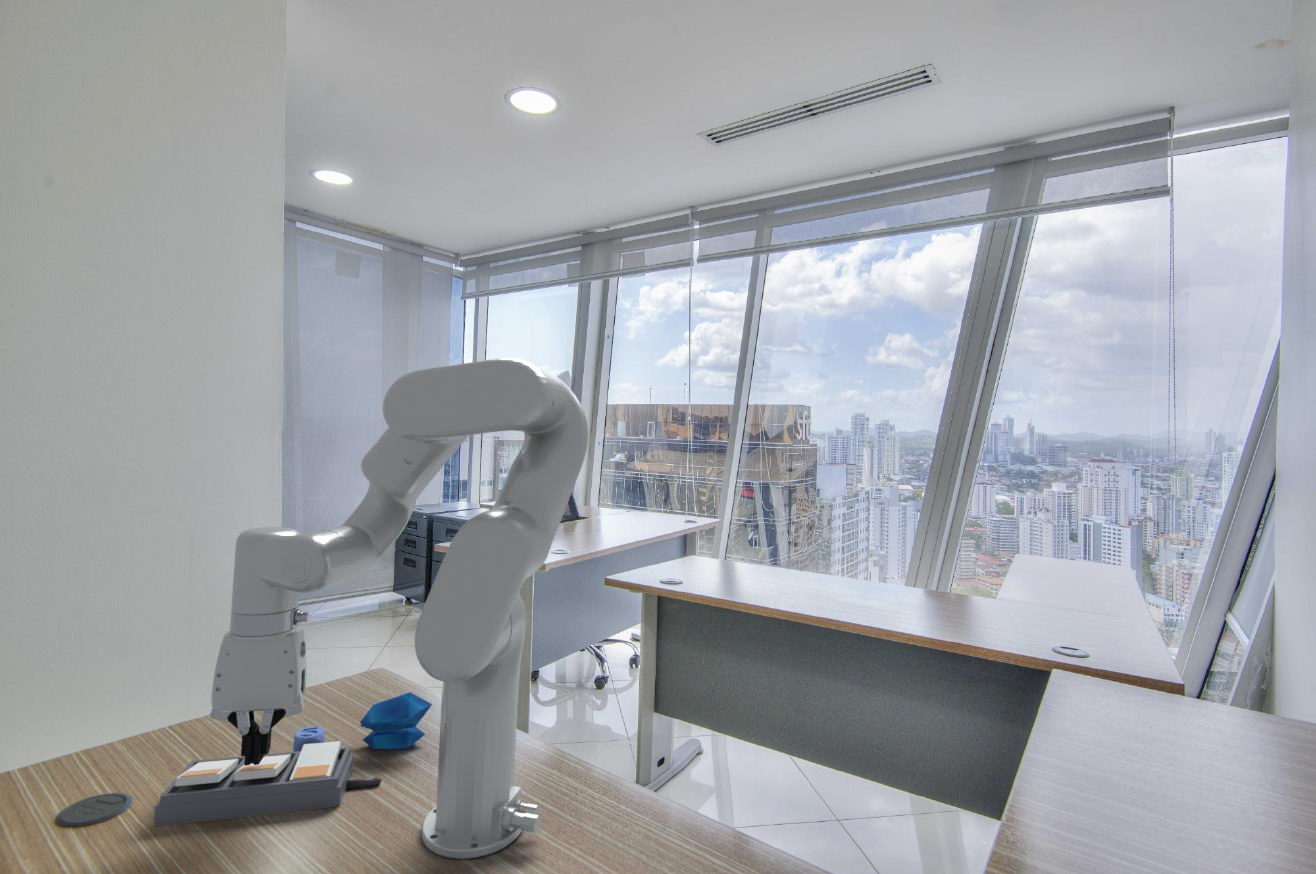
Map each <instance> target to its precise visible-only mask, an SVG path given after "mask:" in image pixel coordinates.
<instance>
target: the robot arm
mask: <svg viewBox="0 0 1316 874" xmlns="http://www.w3.org/2000/svg"><path fill="white" fill-rule="evenodd" d="M382 414H383V418H384V420H385V423H386V424H387V427H388V428H387V429H386V430H385V431H384V432H383V434H382V435H381V436H380V437H379V439H378V440H376V442H375V443H374V444H373V445H372V447H371V448H370V449H369V450H368V451H367V452H366V453H365V455H364V456H363V457H362V460H361V463H360V469H361V471H362V473H363V475H364V477H365V479H366V481H368V482H369V483H368V489H367V492H366V493H365V495H364V498H363V499H362V501H361V502H360V503H359V505H358V506H357V507H356V508H355V510H354V511H353V512H352V513H351V514H350V515H349V517H348V518H347V519H346V520H345V521H344V522H343V523H342V525H340V526H337V527H332V528H327V529H323V530H319V531H314V532H309V533H302V534H301V533H300V532H299V531H298V530H297V529H295V528H291V527H283V526H282V527H281V526H264V527H256V528H255V527H254V528H250V529H246V530H243V531H242V532H241V533H240V534H239V535H238V536H237V538H236V542H235V547H234V548H235V549H234V551H235V552H234V564H233V565H234V566H233V579H232V580H233V582H232V594H231V612H230V625H229V627H230V628H229V630H227V631H226V632H225V634H224V635H223V638H222V640H221V643H220V644H221V645H220V648H219V652H218V656H217V660H216V665H215V668H214V675H213V680H212V688H211V697H210V699H211V702H210V703H211V710H210V715H209V717H210V718H211V719H212V720H219V721H223V722H224V721H226V722H227V721H228V723H230V724H231V725H232V726H234V728H236V729H237V732H238V734H239V735H240V736H241V747H240V756H245V761H244V765H245V766H247V765H250V764H254V765H259V763H260V762H261V760H262V759H263V757H264V756H265V754H270V750H271V745H272V743H271V742H272V730H273V728H274V726H276V725H277V724H278V723H279V722H280V721H282V720H283V719H285V718H286V717H287V718H288V717H292V716H295V715H299V714H301V713H302V712H303V710H304V709H305V701H304V696H303V694H305V692H306V689H307V677H308V672H307V668H308V667H307V663H308V662H307V646H306V635H305V629H304V627H303V626H301V625H299V624H302V623H308V622H309V620H310V612H309V611H303V610H301V609H300V605H299V596H300V595H299V594H300V593H305V594H311V593H317V592H319V591H323V590H326V589H329V588H331V587H334V586H336V585H338V584H341V583H344V582H346V581H349V580H352V579H355V578H358V577H360V576H362V575H363V574H365V573H366V572H368V571H369V570H370V569H372V567H374V566H375V565H376V564H377V563H378V562H379V561H380V559H381V558H382V557H384V555H385V553H387V551H388V550H389V549H390V548H391V546H392V545H393V544H394V543H395V541H397V539H398V538H399V537H400V535H401V534H402V533H403V531H404V530H405V528H406V526H407V525H408V523H409V521H410V518H411V516H412V514H413V511H414V509H415V507H416V504H417V500H418V498H419V496H420V495H421V494H422V492H423V491H424V490H425V489H426V487H428V485H429V484H430V483H431V481H432V480H433V479H434V478H435V476H436V475H437V474H438V473H439V472H440V470H442V469H443V467H444V466H445V465H446V463H447V462H448V461H449V460H450V459H451V457H453V456H454V454H455V453H456V452H457V451H458V449H459V448H460V447H461V446H462V445H463V443H464V442H465V441H466V440H467V438H469V437H470V436H475V435H481V434H482V435H483V434H489V433H498V432H506V431H507V432H508V431H512V432H513V431H515V432H523V433H524V437H523V443H522V446H521V447H520V450H519V451H518V454H517V455H516V456H515V458H514V460H513V461H512V464H511V466H510V468H509V470H508V473H507V475H506V478H505V482H504V483H503V486H502V488H501V490H500V492H499V494H498V497H497V498H496V501H495V503H494V504H493V506H492V508H491V509H488V510H486V511H483V512H479V513H478V514H476V515H474V516H473V517H471V518H469V520H466V522H464V524H463V525H461V527H460V528H459V529H458V530H457V532H456V534H455V535H454V537H453V538H452V540H451V542H450V544H449V546H448V548H447V550H446V552H445V554H444V557H443V559H442V561H441V564H440V567H439V569H438V571H437V574H436V576H435V578H434V581H433V583H432V586H431V587H430V588H431V589H430V590H429V593H428V595H427V598H426V600H425V602H424V605H423V607H422V609H421V612H420V615H419V618H418V621H417V624H416V627H415V632H414V650H415V651H414V652H415V655H416V658H417V660H418V663H419V665H420V666H421V668H422V669H423V670H424V671H425V672H426V673H427V674H428V675H429V676H430V677H431V678H433V679H435V680H438V681H440V682H442V691H441V707H440V722H439V723H440V727H439V745H438V746H439V748H438V766H437V767H438V769H437V784H436V785H437V786H436V787H437V789H436V806H435V807H433V808H432V809H431V810H430V811H429V812H428V814H427V815H426V816H425V818H424V820H423V822H422V826H421V827H422V828H421V838H422V842H423V843H424V845H425V847H427V849H429V850H430V851H431V852H433V853H435V854H436V855H439V856H442V857H445V858H451V859H473V858H480V857H484V856H488V855H491V854H493V853H496V852H498V851H500V850H502V849H505V848H506V847H507V846H509V845H510V844H511V843H512V842H514V841H515V839H517V838H518V837H519V836H520V834H521V833H522V831H524V832H529V833H534V834H537V833H538V831H539V828H540V826H541V821H542V820H541V815H540V814H539V811H540V805H539V804H537V803H532V802H530V803H528V802H524V800H523V799H521V798H522V797H521V796H522V795H521V794H522V787H521V786H516V785H515V770H516V769H515V768H516V765H515V764H516V748H517V746H516V744H517V743H516V742H517V726H518V725H517V724H518V706H519V691H520V690H519V688H520V673H521V665H522V664H521V662H522V657H523V656H522V655H523V649H524V642H525V635H526V629H527V627H526V626H527V625H526V624H527V613H526V612H527V611H526V607H525V603H524V599H523V598H522V596H521V594H520V591H521V589H522V587H523V584H524V582H525V580H527V579H528V578H530V577H531V576H533V575H534V574H535V573H536V572H537V571H538V570H539V569H541V567H543V565H544V563H545V561H546V560H547V557H548V555H549V553H550V550H551V547H552V544H553V542H554V539H555V536H556V533H557V531H558V528H559V526H560V524H561V521H562V518H563V516H564V514H565V511H566V509H567V507H568V504H569V500H570V497H571V495H572V492H573V490H574V488H575V486H576V483H577V481H578V478H579V475H580V473H581V470H582V466H583V464H584V460H585V458H586V455H587V451H588V443H589V426H588V422H587V417H586V413H585V410H584V408H583V406H582V404H581V401H580V400H579V399H578V397H577V396H576V394H575V393H574V392H573V390H572V389H571V388H570V387H569V385H567V384H566V383H565V382H564V381H563V380H562V378H560V377H558V376H557V375H556V374H554V373H553V372H550V371H549V370H547V369H545V368H543V367H541V366H538V365H536V364H534V363H532V362H529V361H527V360H525V359H521V358H514V357H507V358H506V357H503V358H502V357H501V358H494V359H485V360H479V361H473V362H465V363H460V364H453V365H452V364H451V365H445V366H439V367H438V366H437V367H430V368H423V369H418V370H414V371H411V372H408V373H406V374H404V375H402V376H400V377H399V378H398V379H396V380H395V381H393V383H392V384H391V385H390V386H389V388H388V390H387V392H386V393H385V396H384V399H383V404H382ZM259 711H261V712H262V715H261V720H260V723H259V724H258V723H257V718H256V717H257V716H256V712H259Z"/></svg>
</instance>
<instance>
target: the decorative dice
mask: <svg viewBox="0 0 1316 874" xmlns="http://www.w3.org/2000/svg"><path fill="white" fill-rule="evenodd" d="M313 743H325V728H323V727H322V726H318V725H317V726H316V725H312V726H306V727H303V728H301V729H299V730H298V731H296V732H295V733H294V737H293V748H292V752H297V751H301V750H302V748H303V745H304V744H313Z"/></svg>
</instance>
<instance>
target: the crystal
mask: <svg viewBox="0 0 1316 874" xmlns="http://www.w3.org/2000/svg"><path fill="white" fill-rule="evenodd" d="M432 706H433V704H432V703H431V702H429V701H428V700H426V699H424V698H423V697H420V696H418V695H417V694H415V693H413V692H412V691H410V692H406V693H404V694H400V695H398V696H395V697H392V698H388V699H386V700H383V701H380V702H377V703H374V704H373V705H372V706H371V707H370V708H369V709H368V711H367V712H366V714H365V715H364V716H363V718H362V719H361V720H360V721H359V724H360V727H362V728H365V729H368V730H370V731H371V732H370V733H368V735H366V736H365V737H364V738H363V739H362V741H363V742H364V743H366V745H368V747H370V748H371V749H372V750H373V749H375V750H376V749H382V750H408V749H409V748H410V747H412V746H413V745H414V744H416V743H417V742H418V741H419V740H420V739H421V738H423V737H424V736H425V735H426V733H425V732H423V731H422V730H421V729H419V728H418V727H417V725H418V724H419V722H421V720H423V717H424V716H425V715H426V714H427V712H428V711H429V710H430V709H431V707H432Z"/></svg>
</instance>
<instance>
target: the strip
mask: <svg viewBox="0 0 1316 874" xmlns="http://www.w3.org/2000/svg"><path fill="white" fill-rule="evenodd" d="M300 753H301V751H297V752H293V751H288V752H285V751H284V752H274V753H268V754H265V756H264V757H266V756H277V755H288V754H291V759H290V763H289V764H288V765H287V766H286V767H285V768H284V769H283V770H282V771H281V772H280V773H279V774H278V775H277V776H276V777H268V778H257V779H247V780H237V781H234V775H235V772H236V771H237V770H238V769H240V768H241V767H242V766H243V765H244V761H245V756H241V755H240V756H232V757H220V758H219V757H218V758H207V759H206V758H205V759H195V760H191V761H190V762H189V763H188V764H187V765H186V766H185V767H184V768H183V770H182V771H181V772H179V774H178V776H180V775H181V774H183V773H184V772H185V771H187V770H188V769H190V768H191V767H193V766H194V765H196V764H197V763H199V762H209V761H220V760H232V759H239V761H238V767H237V768H236V769H234V770H233V771H232V772H231V773H229V774H228V776H226V777H225V778H223V779H222V780H221V781H220V782H216V783H206V784H195V785H185V786H175V782H176V778H175V779H174V780H173V781H172V782H171V783H170V784H169V786H168V787H167V788H166V789H165V790H164V791H163V792H162V793H161V795H160V796H159V797H160V798H159V799H160V800H159V801H158V803H156V805H155V806H154V816H153V818H154V819H153V827H154V828H155V827H163V826H164V827H165V826H173V825H180V824H181V825H182V824H191V823H192V824H193V823H199V822H211V821H218V820H220V821H221V820H227V819H235V818H236V819H237V818H244V817H255V816H262V815H263V816H264V815H272V814H280V813H282V814H283V813H291V812H300V811H307V810H317V809H326V808H334V807H341V805H342V802H343V799H344V796H345V794H346V790H347V789H353V788H361V787H372V786H379V785H380V784H381V783H382V778H381V777H379V776H378V777H365V778H357V779H351V777H352V775H353V773H354V758H355V757H354V756H355V754H351V746H346V747H345V746H343V747H342V746H341V748H340V751H339V754H338V758H337V761H336V764H335V767H334V770H333V773H332V776H331V777H328V778H318V779H308V780H298V781H289V780H290V777H291V775H292V772H293V770H294V767H295V765H296V763H297V760H298V758H299V755H300ZM178 776H177V777H178Z"/></svg>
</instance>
